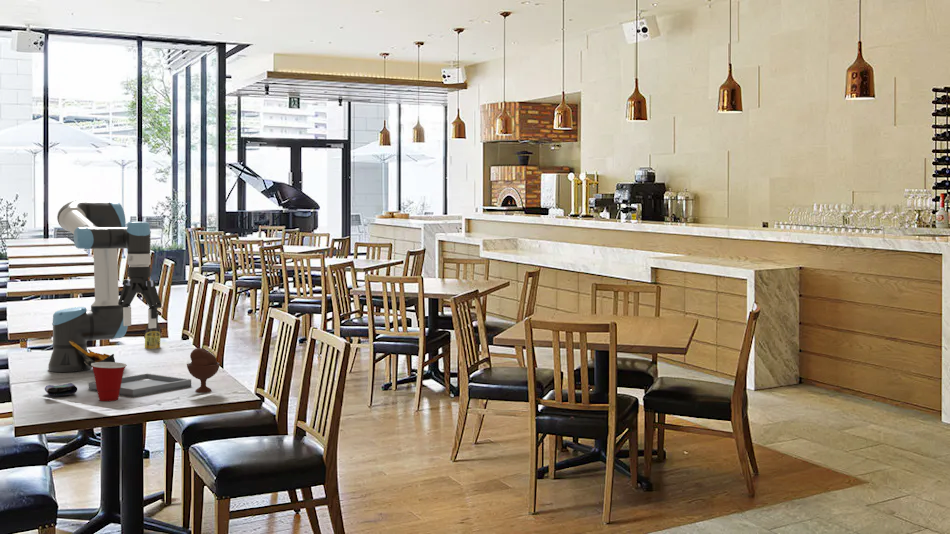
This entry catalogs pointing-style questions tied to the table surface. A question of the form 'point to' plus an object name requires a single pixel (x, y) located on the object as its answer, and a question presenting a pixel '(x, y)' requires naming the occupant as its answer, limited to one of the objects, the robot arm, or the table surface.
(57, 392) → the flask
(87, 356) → the fried shrimp in bowl
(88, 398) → the table surface
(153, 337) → the sauce bottle
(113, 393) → the plastic cup
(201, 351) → the ice cream bowl
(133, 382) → the tray
